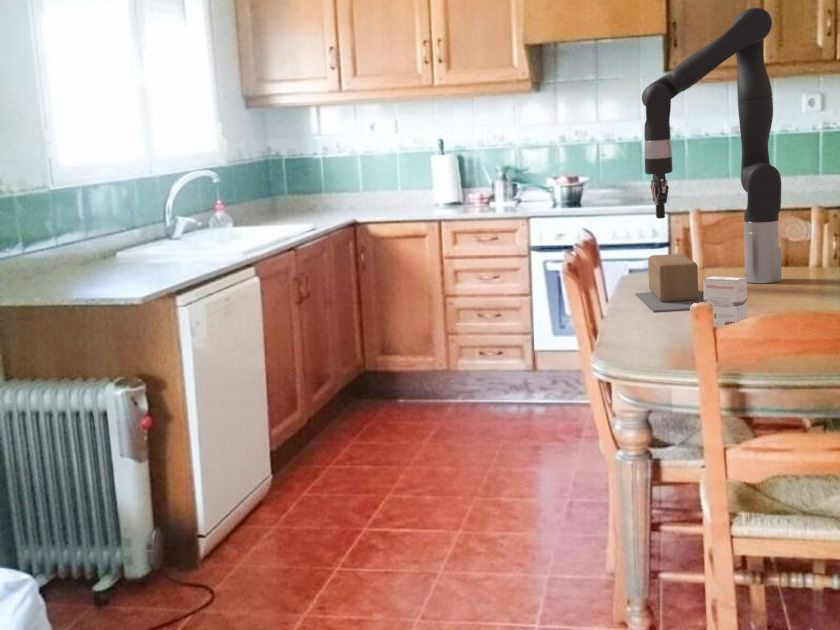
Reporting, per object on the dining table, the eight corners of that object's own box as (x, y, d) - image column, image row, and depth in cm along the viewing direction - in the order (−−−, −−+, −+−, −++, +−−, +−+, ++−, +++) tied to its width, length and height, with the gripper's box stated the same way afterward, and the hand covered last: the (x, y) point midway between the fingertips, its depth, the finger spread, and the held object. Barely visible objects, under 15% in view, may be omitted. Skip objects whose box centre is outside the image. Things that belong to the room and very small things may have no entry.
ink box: (748, 328, 239) (747, 276, 237) (738, 332, 236) (737, 280, 234) (713, 325, 245) (712, 275, 243) (702, 329, 242) (701, 278, 239)
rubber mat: (697, 291, 292) (697, 289, 292) (721, 308, 265) (721, 306, 265) (635, 294, 293) (635, 293, 292) (653, 312, 266) (653, 310, 266)
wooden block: (684, 253, 292) (698, 262, 273) (684, 288, 294) (699, 300, 274) (647, 255, 293) (659, 265, 273) (648, 290, 295) (660, 303, 275)
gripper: (677, 156, 289) (679, 219, 292) (666, 154, 302) (668, 215, 305) (649, 158, 289) (652, 221, 292) (640, 156, 302) (642, 217, 305)
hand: (660, 218), depth 299 cm, fingers closed
